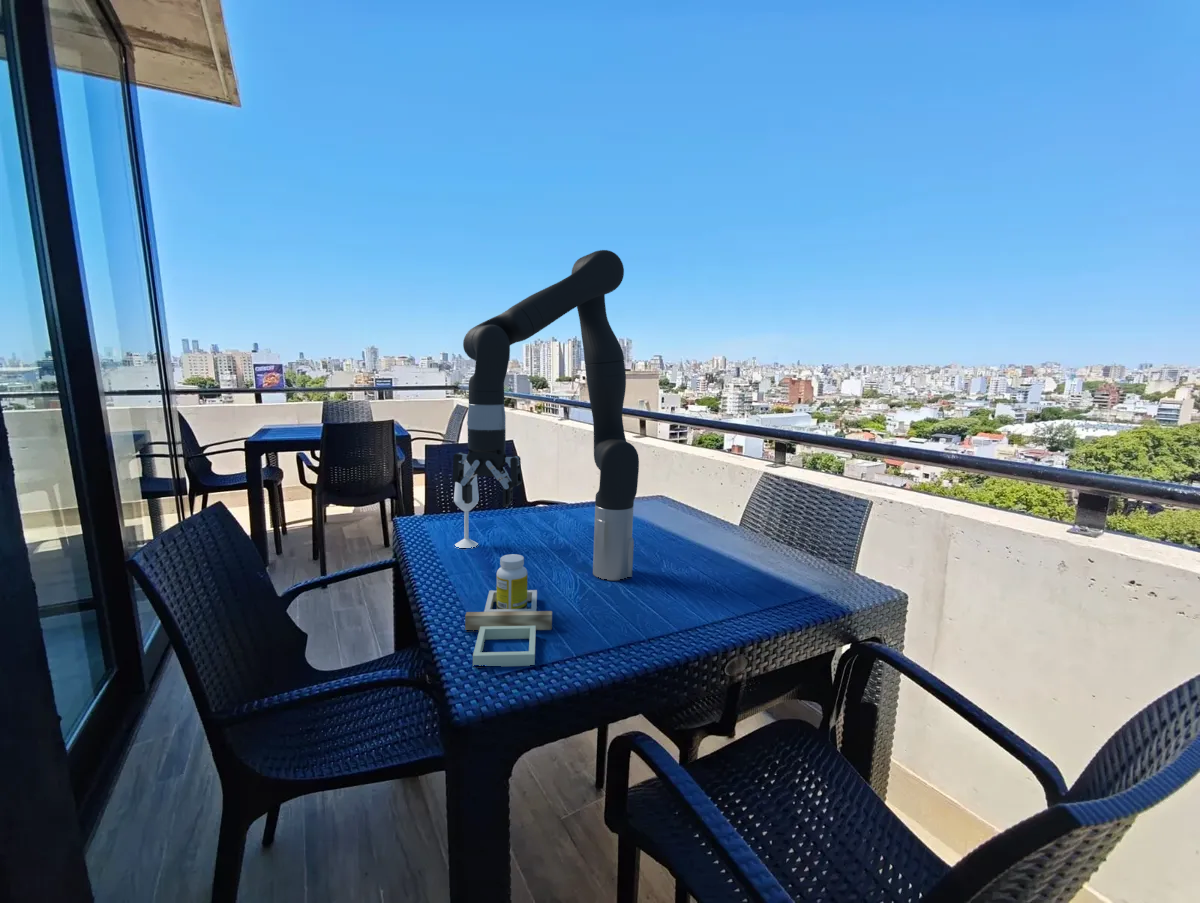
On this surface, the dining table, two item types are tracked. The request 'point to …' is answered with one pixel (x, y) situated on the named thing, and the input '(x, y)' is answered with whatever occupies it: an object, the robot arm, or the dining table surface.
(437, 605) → the dining table surface
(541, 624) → the edge strip
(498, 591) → the pill bottle
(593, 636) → the dining table surface
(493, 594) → the keeper
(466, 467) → the champagne flute
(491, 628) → the keeper
